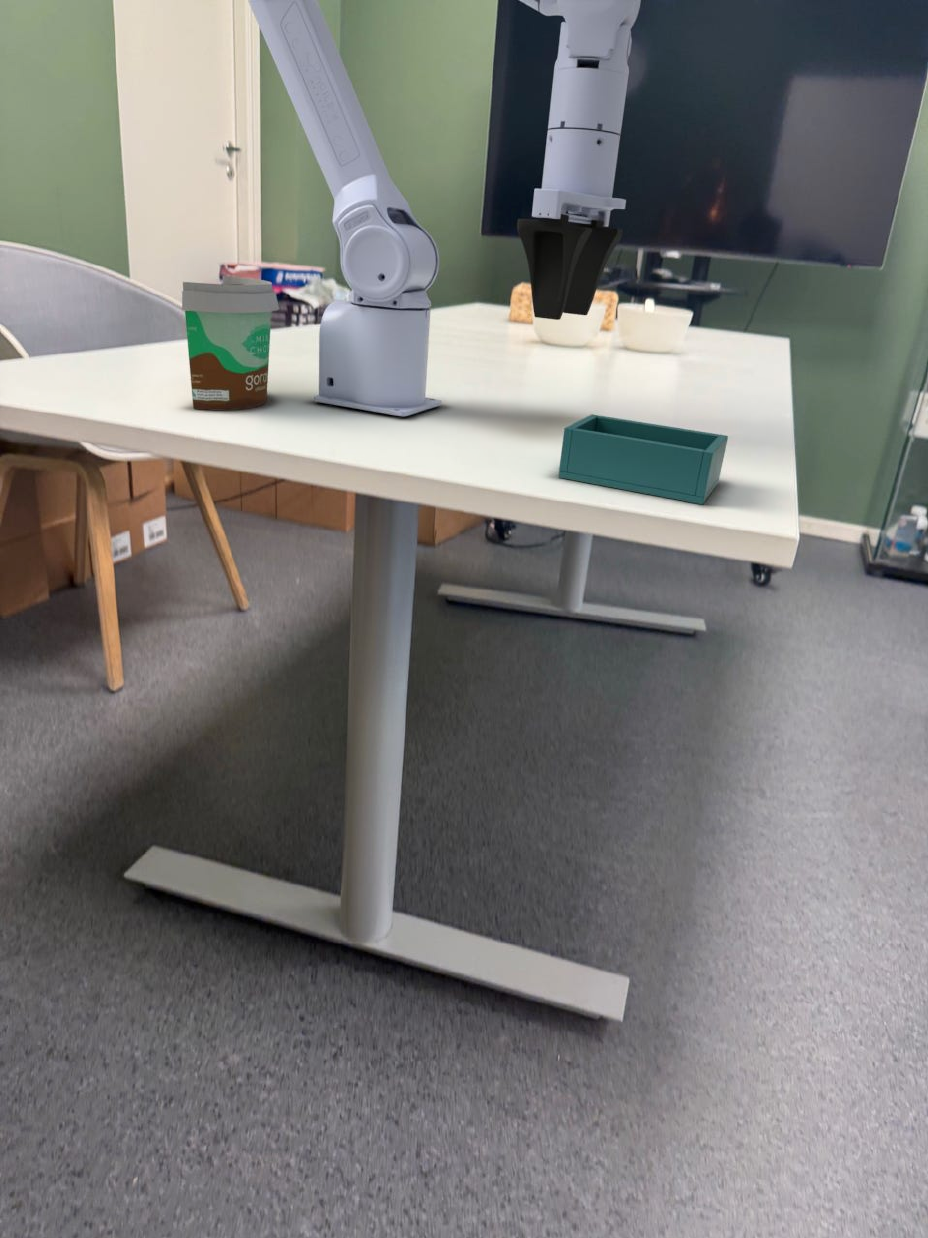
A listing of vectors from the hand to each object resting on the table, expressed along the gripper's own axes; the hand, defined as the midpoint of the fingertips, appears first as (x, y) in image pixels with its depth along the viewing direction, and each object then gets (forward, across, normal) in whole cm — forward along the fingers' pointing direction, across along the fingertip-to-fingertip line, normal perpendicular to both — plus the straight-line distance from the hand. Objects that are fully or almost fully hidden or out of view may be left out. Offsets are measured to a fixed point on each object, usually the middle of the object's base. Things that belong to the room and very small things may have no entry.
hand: (561, 316), depth 72 cm
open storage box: (+9, -13, -12) cm, 20 cm away
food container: (+10, -11, +25) cm, 29 cm away
